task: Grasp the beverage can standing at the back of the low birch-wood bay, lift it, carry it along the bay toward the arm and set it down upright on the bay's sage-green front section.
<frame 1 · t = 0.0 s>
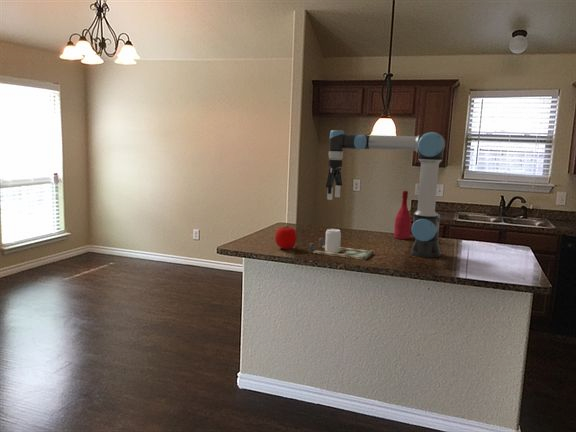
hand: (333, 198, 256), 28 cm above the countertop, fingers open, 13 cm apart
wine bottle: (401, 238, 294), on the countertop
tomato: (285, 248, 256), on the countertop
beverage can: (332, 252, 252), resting on bay
bay: (341, 253, 250), on the countertop
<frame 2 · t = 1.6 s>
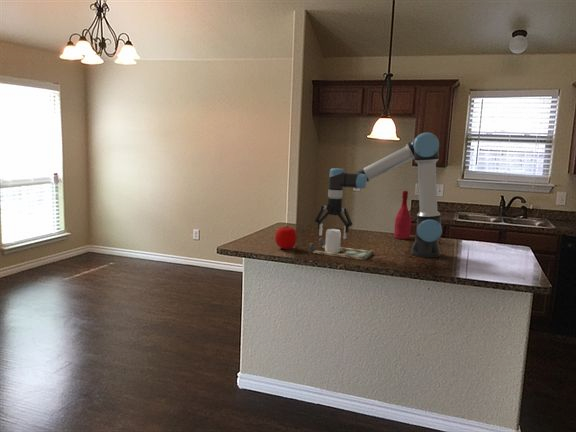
hand: (332, 237, 251), 8 cm above the countertop, fingers open, 13 cm apart
nothing on the countertop moved.
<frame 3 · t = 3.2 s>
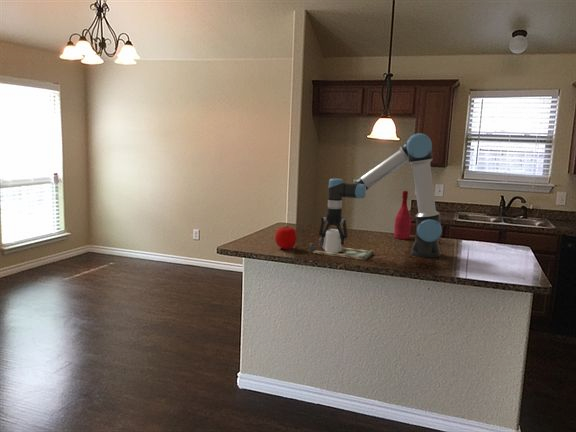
hand: (332, 249, 252), 1 cm above the countertop, fingers closed on beverage can, 8 cm apart
beverage can: (332, 252, 252), resting on bay, touching gripper
everything else where it was.
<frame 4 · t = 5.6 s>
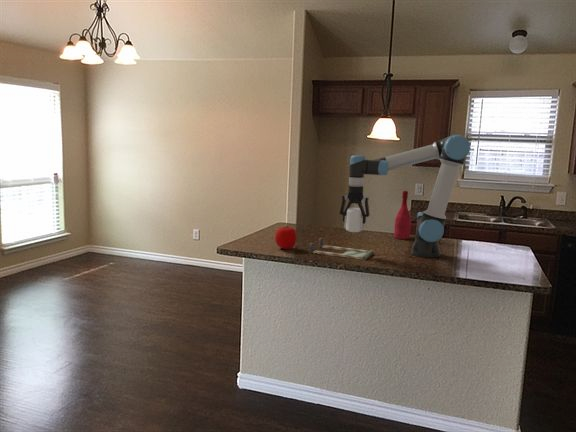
hand: (353, 228, 246), 14 cm above the countertop, fingers closed on beverage can, 8 cm apart
beverage can: (353, 231, 246), point 12 cm above the countertop, touching gripper
everything else where it was.
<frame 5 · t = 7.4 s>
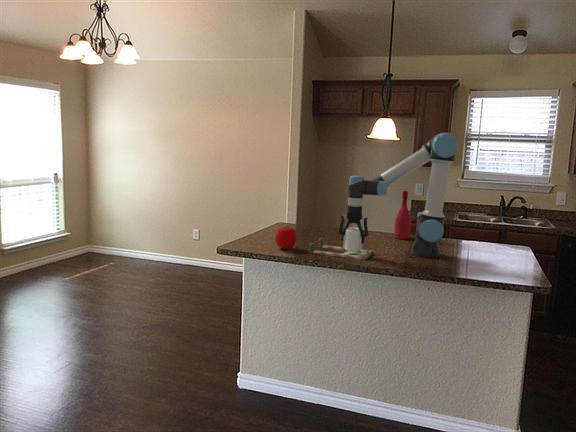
hand: (352, 248, 247), 3 cm above the countertop, fingers closed on beverage can, 8 cm apart
beverage can: (352, 250, 247), point 2 cm above the countertop, touching gripper
everything else where it was.
when the fingers open (3 cm above the countertop, at t = 8.3 s): beverage can drops 1 cm, resting on bay.
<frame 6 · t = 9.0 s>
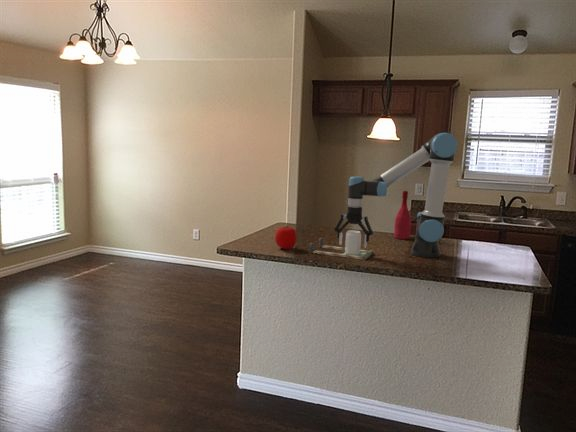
hand: (352, 246, 247), 4 cm above the countertop, fingers open, 13 cm apart
beverage can: (352, 254, 248), resting on bay
everything else where it was.
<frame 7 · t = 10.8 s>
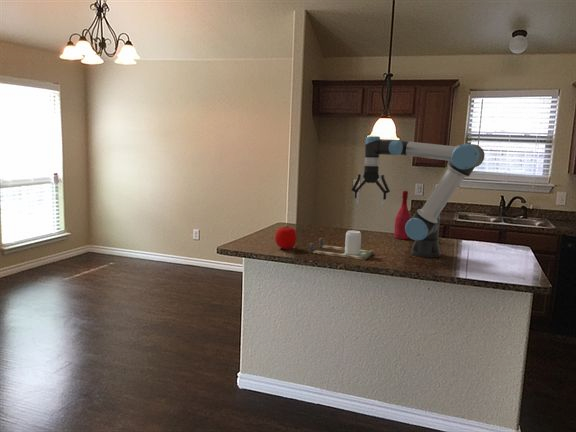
hand: (369, 204, 254), 25 cm above the countertop, fingers open, 13 cm apart
nothing on the countertop moved.
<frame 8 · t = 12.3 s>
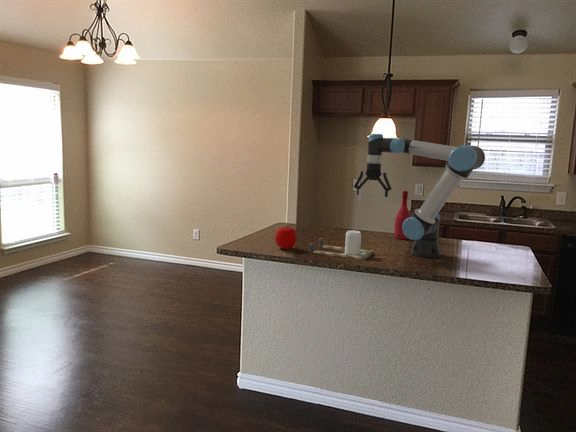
hand: (371, 201, 256), 27 cm above the countertop, fingers open, 13 cm apart
nothing on the countertop moved.
at the end: beverage can inside the target area (0.4 cm from its centre), resting on bay; beverage can tilted 0°; the gripper is holding nothing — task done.
